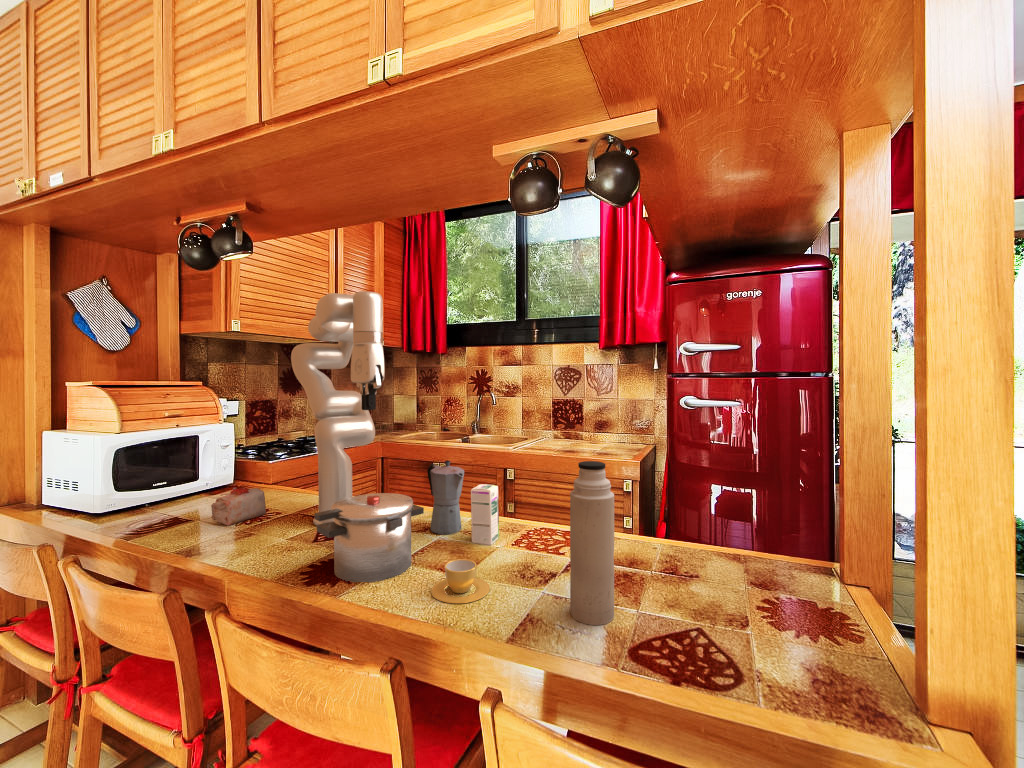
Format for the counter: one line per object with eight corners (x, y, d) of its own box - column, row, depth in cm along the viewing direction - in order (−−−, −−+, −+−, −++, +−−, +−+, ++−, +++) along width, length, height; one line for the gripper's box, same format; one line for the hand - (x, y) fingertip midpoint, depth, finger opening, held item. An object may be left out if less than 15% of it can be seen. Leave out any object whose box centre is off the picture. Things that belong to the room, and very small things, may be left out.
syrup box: (491, 545, 119) (491, 489, 119) (470, 543, 121) (470, 488, 121) (499, 538, 124) (499, 484, 124) (479, 535, 126) (479, 483, 126)
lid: (428, 509, 106) (428, 496, 106) (336, 532, 90) (336, 517, 90) (387, 495, 119) (387, 484, 119) (299, 514, 103) (299, 501, 103)
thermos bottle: (601, 600, 90) (601, 457, 89) (622, 621, 82) (622, 465, 82) (563, 606, 88) (563, 459, 87) (581, 628, 80) (581, 467, 79)
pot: (306, 571, 104) (306, 513, 103) (398, 543, 121) (397, 494, 120) (344, 598, 91) (344, 532, 91) (440, 563, 108) (440, 507, 108)
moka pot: (451, 540, 123) (451, 465, 123) (413, 528, 132) (413, 459, 132) (475, 530, 131) (475, 460, 130) (437, 520, 140) (437, 454, 140)
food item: (227, 528, 133) (226, 494, 133) (209, 524, 137) (208, 491, 136) (268, 515, 146) (268, 484, 146) (251, 512, 149) (250, 482, 149)
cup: (493, 602, 90) (493, 574, 90) (431, 608, 88) (431, 580, 87) (485, 576, 102) (485, 551, 101) (430, 580, 99) (430, 555, 99)
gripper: (341, 340, 123) (341, 409, 123) (369, 337, 113) (370, 412, 113) (367, 342, 128) (367, 407, 129) (396, 339, 118) (396, 410, 118)
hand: (368, 409), depth 121 cm, fingers closed
